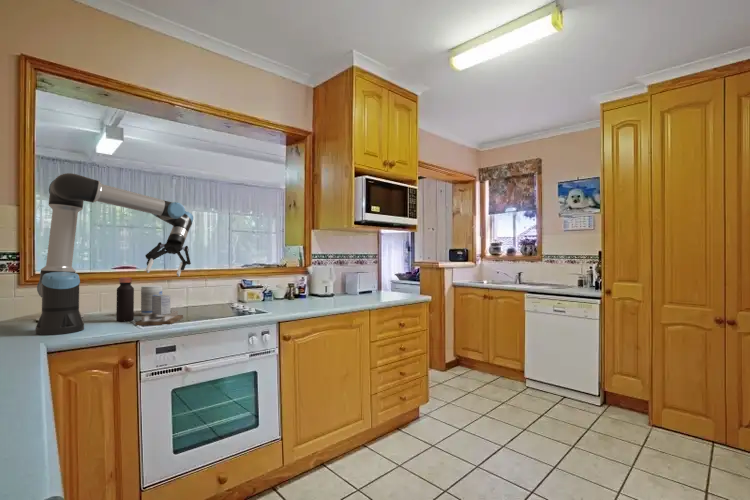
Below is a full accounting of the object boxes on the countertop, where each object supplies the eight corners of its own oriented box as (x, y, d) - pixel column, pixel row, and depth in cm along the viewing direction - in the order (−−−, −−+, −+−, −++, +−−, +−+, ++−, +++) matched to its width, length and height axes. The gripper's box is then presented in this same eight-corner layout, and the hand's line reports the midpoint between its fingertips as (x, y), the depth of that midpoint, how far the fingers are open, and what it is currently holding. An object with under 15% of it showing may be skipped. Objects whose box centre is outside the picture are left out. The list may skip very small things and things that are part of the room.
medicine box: (170, 314, 178) (170, 295, 178) (160, 315, 175) (161, 296, 175) (161, 312, 183) (161, 294, 183) (151, 313, 179) (151, 295, 179)
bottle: (117, 322, 175) (118, 278, 176) (115, 320, 181) (115, 277, 181) (134, 320, 180) (135, 277, 180) (132, 319, 185) (132, 277, 185)
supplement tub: (164, 314, 199) (165, 286, 199) (143, 316, 192) (144, 287, 192) (159, 312, 206) (159, 284, 206) (138, 314, 199) (138, 285, 199)
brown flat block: (135, 325, 168) (135, 317, 168) (151, 318, 186) (151, 311, 186) (170, 324, 171) (170, 316, 171) (183, 318, 188) (183, 310, 189)
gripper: (204, 245, 200) (191, 280, 188) (152, 238, 197) (136, 273, 184) (202, 236, 194) (189, 272, 182) (149, 229, 191) (132, 265, 178)
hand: (162, 273), depth 183 cm, fingers open, 13 cm apart
